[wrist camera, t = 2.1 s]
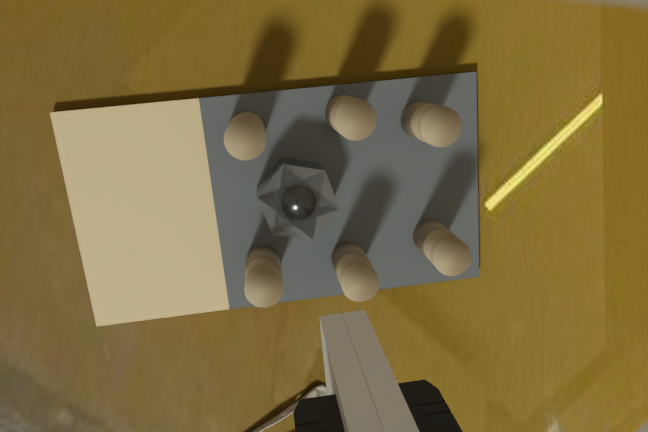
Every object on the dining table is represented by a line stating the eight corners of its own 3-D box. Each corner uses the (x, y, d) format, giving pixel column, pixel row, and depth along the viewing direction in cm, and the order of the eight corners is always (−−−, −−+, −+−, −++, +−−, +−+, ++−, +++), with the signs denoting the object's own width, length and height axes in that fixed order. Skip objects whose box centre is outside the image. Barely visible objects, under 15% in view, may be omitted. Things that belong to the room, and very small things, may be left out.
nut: (278, 239, 42) (280, 253, 39) (249, 169, 40) (248, 177, 37) (340, 216, 42) (346, 227, 39) (313, 144, 40) (318, 151, 37)
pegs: (248, 285, 42) (247, 316, 37) (224, 106, 39) (219, 112, 33) (446, 260, 44) (472, 287, 39) (440, 85, 40) (468, 87, 35)
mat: (98, 322, 42) (96, 326, 42) (52, 111, 38) (49, 112, 38) (476, 273, 45) (479, 276, 45) (473, 71, 41) (476, 71, 40)
